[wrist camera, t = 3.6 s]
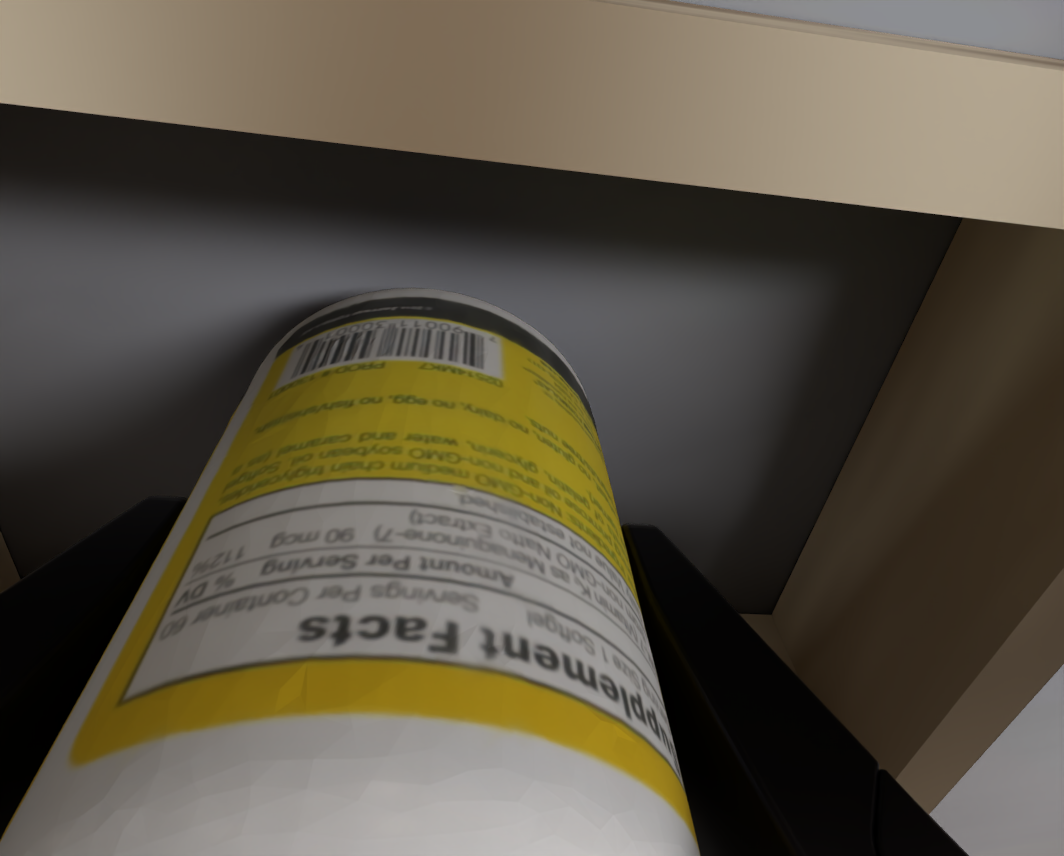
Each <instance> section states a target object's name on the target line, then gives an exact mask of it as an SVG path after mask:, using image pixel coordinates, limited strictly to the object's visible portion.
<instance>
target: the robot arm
mask: <svg viewBox="0 0 1064 856" xmlns="http://www.w3.org/2000/svg"><path fill="white" fill-rule="evenodd" d="M187 500H188V498H185V497H172V496H151V497H148V498H146V499H144V500H143V501H141V502H140V503H138V504H136V505H135V506H133V507H132V508H130V509H129V510H127V511H126V512H124V513H123V514H121V515H120V516H118V517H116V518H115V519H113V520H112V521H110V522H109V523H107V524H106V525H104V526H103V527H101V528H99V529H98V530H96V531H95V532H93V533H92V534H90V535H89V536H87V537H86V538H84V539H83V540H81V541H79V542H78V543H76V544H75V545H73V546H72V547H70V548H69V549H67V550H66V551H64V552H62V553H61V554H59V555H58V556H56V557H55V558H53V559H52V560H50V561H49V562H47V563H45V564H44V565H42V566H41V567H39V568H38V569H36V570H35V571H33V572H32V573H30V574H29V575H27V576H25V577H24V578H22V579H21V580H19V581H18V582H16V583H15V584H13V585H12V586H10V587H8V588H7V589H5V590H4V591H2V592H1V593H0V840H1V838H2V836H3V833H4V831H5V829H6V827H7V826H8V824H9V822H10V820H11V818H12V817H13V815H14V813H15V811H16V809H17V808H18V806H19V804H20V802H21V800H22V799H23V797H24V795H25V793H26V792H27V790H28V788H29V786H30V784H31V783H32V781H33V779H34V777H35V775H36V774H37V772H38V770H39V768H40V766H41V765H42V763H43V761H44V759H45V757H46V756H47V754H48V752H49V750H50V749H51V747H52V745H53V743H54V741H55V740H56V738H57V736H58V734H59V732H60V731H61V729H62V727H63V725H64V723H65V722H66V720H67V718H68V716H69V714H70V713H71V711H72V709H73V707H74V705H75V704H76V702H77V700H78V698H79V697H80V695H81V693H82V691H83V689H84V688H85V686H86V684H87V682H88V680H89V679H90V677H91V675H92V673H93V671H94V670H95V668H96V666H97V664H98V662H99V661H100V659H101V657H102V655H103V653H104V652H105V650H106V648H107V646H108V644H109V643H110V641H111V639H112V637H113V635H114V633H115V632H116V630H117V628H118V626H119V624H120V623H121V621H122V619H123V617H124V615H125V613H126V612H127V610H128V608H129V606H130V604H131V603H132V601H133V599H134V597H135V595H136V593H137V592H138V590H139V588H140V586H141V584H142V582H143V581H144V579H145V577H146V575H147V573H148V572H149V570H150V568H151V566H152V564H153V562H154V561H155V559H156V557H157V555H158V553H159V552H160V550H161V548H162V546H163V544H164V542H165V540H166V539H167V537H168V535H169V533H170V531H171V529H172V527H173V526H174V524H175V522H176V520H177V518H178V516H179V515H180V513H181V511H182V509H183V507H184V505H185V504H186V502H187ZM621 531H622V535H623V539H624V543H625V547H626V551H627V555H628V559H629V563H630V567H631V571H632V576H633V580H634V584H635V588H636V592H637V596H638V601H639V605H640V609H641V613H642V617H643V621H644V625H645V630H646V633H647V637H648V641H649V645H650V649H651V653H652V657H653V661H654V664H655V668H656V672H657V676H658V681H659V685H660V689H661V693H662V698H663V702H664V706H665V710H666V714H667V718H668V722H669V726H670V730H671V734H672V738H673V742H674V747H675V751H676V755H677V759H678V763H679V767H680V771H681V776H682V780H683V784H684V788H685V792H686V796H687V801H688V805H689V809H690V813H691V817H692V821H693V825H694V830H695V834H696V838H697V842H698V846H699V850H700V856H969V855H968V854H967V853H966V852H965V851H964V850H963V849H962V848H961V847H960V846H959V845H958V844H957V843H956V842H955V841H954V840H953V839H952V838H951V837H950V836H949V835H948V834H947V833H946V832H945V831H944V830H943V829H942V828H941V827H940V826H939V825H938V824H937V823H936V822H935V821H934V820H933V818H932V817H931V816H930V815H929V814H928V813H927V812H926V811H925V810H924V809H923V808H922V807H921V806H920V805H919V804H918V803H917V802H916V801H915V800H914V799H913V798H912V797H911V796H910V795H909V794H908V792H907V791H906V790H905V789H904V788H903V787H902V786H901V785H900V784H899V783H898V782H897V781H896V780H895V779H894V778H893V777H892V775H891V774H890V773H889V772H888V771H887V770H885V769H880V770H879V763H878V761H877V760H876V759H875V758H874V757H873V756H872V755H871V754H870V752H869V751H868V750H867V749H866V748H865V747H864V746H863V745H862V744H861V743H860V742H859V741H858V740H857V739H856V738H855V736H854V735H853V734H852V733H851V732H850V731H849V730H848V729H847V728H846V727H845V726H844V725H843V724H842V723H841V722H840V721H839V719H838V718H837V717H836V716H835V715H834V714H833V713H832V712H831V711H830V710H829V709H828V708H827V707H826V706H825V705H824V703H823V702H822V701H821V700H820V699H819V698H818V697H817V696H816V695H815V694H814V693H813V692H812V691H811V690H810V689H809V688H808V686H807V685H806V684H805V683H804V682H803V681H802V680H801V679H800V678H799V677H798V676H797V675H796V674H795V673H794V672H793V671H792V669H791V668H790V667H789V666H788V665H787V664H786V663H785V662H784V661H783V660H782V659H781V658H780V657H779V656H778V655H777V653H776V652H775V651H774V650H773V649H772V648H771V647H770V646H769V645H768V644H767V643H766V642H765V641H764V640H763V639H762V638H761V636H760V635H759V634H758V633H757V632H756V631H755V630H754V629H753V628H752V627H751V626H750V625H749V624H748V623H747V622H746V620H745V619H744V618H743V617H742V616H741V615H740V614H739V613H738V612H737V611H736V610H735V609H734V608H733V607H732V606H731V605H730V603H729V602H728V601H727V600H726V599H725V598H724V597H723V596H722V595H721V594H720V593H719V592H718V591H717V590H716V589H715V588H714V586H713V585H712V584H711V583H710V582H709V581H708V580H707V579H706V578H705V577H704V576H703V575H702V574H701V573H700V572H699V570H698V569H697V568H696V567H695V566H694V565H693V564H692V563H691V562H690V561H689V560H688V559H687V558H686V557H685V556H684V555H683V553H682V552H681V551H680V550H679V549H678V548H677V547H676V546H675V545H674V544H673V543H672V542H671V541H670V540H669V539H668V537H667V536H666V535H665V534H664V533H663V532H662V531H661V530H660V529H659V528H657V527H656V526H653V525H645V524H624V525H622V526H621Z"/></svg>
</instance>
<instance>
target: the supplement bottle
mask: <svg viewBox="0 0 1064 856" xmlns="http://www.w3.org/2000/svg"><path fill="white" fill-rule="evenodd" d="M0 856H700V850H699V846H698V842H697V838H696V834H695V830H694V825H693V821H692V817H691V813H690V809H689V805H688V801H687V796H686V792H685V788H684V784H683V780H682V776H681V771H680V767H679V763H678V759H677V755H676V751H675V747H674V742H673V738H672V734H671V730H670V726H669V722H668V718H667V714H666V710H665V706H664V702H663V698H662V693H661V689H660V685H659V681H658V676H657V672H656V668H655V664H654V661H653V657H652V653H651V649H650V645H649V641H648V637H647V633H646V630H645V625H644V621H643V617H642V613H641V609H640V605H639V601H638V596H637V592H636V588H635V584H634V580H633V576H632V571H631V567H630V563H629V559H628V555H627V551H626V547H625V543H624V539H623V535H622V531H621V527H620V522H619V518H618V514H617V510H616V505H615V501H614V497H613V493H612V489H611V485H610V481H609V477H608V473H607V470H606V466H605V461H604V457H603V453H602V449H601V446H600V442H599V438H598V434H597V429H596V425H595V421H594V418H593V415H592V412H591V409H590V405H589V402H588V399H587V396H586V394H585V391H584V389H583V387H582V385H581V383H580V381H579V379H578V377H577V376H576V374H575V372H574V370H573V369H572V367H571V366H570V365H569V363H568V362H567V360H566V359H565V358H564V356H563V355H562V354H561V353H560V352H559V351H558V350H557V348H556V347H555V346H554V345H553V344H552V343H551V342H550V341H549V340H547V339H546V338H545V337H544V336H543V335H542V334H540V333H539V332H538V331H537V330H535V329H534V328H533V327H531V326H530V325H528V324H527V323H525V322H524V321H522V320H520V319H519V318H517V317H516V316H514V315H513V314H511V313H509V312H507V311H505V310H503V309H500V308H498V307H496V306H494V305H492V304H489V303H487V302H485V301H482V300H479V299H476V298H473V297H469V296H466V295H463V294H460V293H454V292H448V291H443V290H435V289H424V288H399V289H387V290H380V291H374V292H369V293H365V294H361V295H357V296H353V297H350V298H347V299H344V300H342V301H339V302H337V303H335V304H332V305H330V306H328V307H325V308H323V309H322V310H320V311H318V312H317V313H315V314H313V315H311V316H310V317H308V318H307V319H305V320H304V321H302V322H301V323H300V324H298V325H297V326H296V327H294V328H293V329H292V330H291V331H289V332H288V333H287V334H286V335H285V336H284V337H283V338H282V339H281V340H280V341H279V342H278V343H277V344H276V345H275V346H274V348H273V349H272V350H271V351H270V353H269V354H268V355H267V357H266V358H265V360H264V361H263V363H262V364H261V365H260V367H259V369H258V371H257V372H256V374H255V376H254V378H253V380H252V382H251V384H250V385H249V387H248V389H247V390H246V392H245V394H244V396H243V397H242V399H241V401H240V403H239V405H238V407H237V409H236V410H235V412H234V413H233V415H232V417H231V418H230V420H229V423H228V425H227V427H226V429H225V431H224V433H223V435H222V437H221V439H220V440H219V442H218V444H217V446H216V447H215V449H214V451H213V453H212V455H211V457H210V459H209V460H208V462H207V464H206V466H205V468H204V470H203V472H202V473H201V475H200V477H199V479H198V481H197V483H196V485H195V487H194V489H193V491H192V492H191V494H190V496H189V498H188V500H187V502H186V504H185V505H184V507H183V509H182V511H181V513H180V515H179V516H178V518H177V520H176V522H175V524H174V526H173V527H172V529H171V531H170V533H169V535H168V537H167V539H166V540H165V542H164V544H163V546H162V548H161V550H160V552H159V553H158V555H157V557H156V559H155V561H154V562H153V564H152V566H151V568H150V570H149V572H148V573H147V575H146V577H145V579H144V581H143V582H142V584H141V586H140V588H139V590H138V592H137V593H136V595H135V597H134V599H133V601H132V603H131V604H130V606H129V608H128V610H127V612H126V613H125V615H124V617H123V619H122V621H121V623H120V624H119V626H118V628H117V630H116V632H115V633H114V635H113V637H112V639H111V641H110V643H109V644H108V646H107V648H106V650H105V652H104V653H103V655H102V657H101V659H100V661H99V662H98V664H97V666H96V668H95V670H94V671H93V673H92V675H91V677H90V679H89V680H88V682H87V684H86V686H85V688H84V689H83V691H82V693H81V695H80V697H79V698H78V700H77V702H76V704H75V705H74V707H73V709H72V711H71V713H70V714H69V716H68V718H67V720H66V722H65V723H64V725H63V727H62V729H61V731H60V732H59V734H58V736H57V738H56V740H55V741H54V743H53V745H52V747H51V749H50V750H49V752H48V754H47V756H46V757H45V759H44V761H43V763H42V765H41V766H40V768H39V770H38V772H37V774H36V775H35V777H34V779H33V781H32V783H31V784H30V786H29V788H28V790H27V792H26V793H25V795H24V797H23V799H22V800H21V802H20V804H19V806H18V808H17V809H16V811H15V813H14V815H13V817H12V818H11V820H10V822H9V824H8V826H7V827H6V829H5V831H4V833H3V836H2V838H1V840H0Z"/></svg>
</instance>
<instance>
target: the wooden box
mask: <svg viewBox="0 0 1064 856" xmlns="http://www.w3.org/2000/svg"><path fill="white" fill-rule="evenodd" d="M0 103H5V104H14V105H22V106H31V107H39V108H47V109H56V110H64V111H73V112H81V113H90V114H98V115H106V116H115V117H123V118H132V119H140V120H148V121H157V122H165V123H174V124H182V125H191V126H199V127H207V128H216V129H224V130H233V131H241V132H249V133H258V134H266V135H275V136H283V137H291V138H300V139H308V140H317V141H325V142H334V143H342V144H350V145H359V146H367V147H376V148H384V149H392V150H401V151H409V152H418V153H426V154H435V155H443V156H451V157H460V158H468V159H477V160H485V161H493V162H502V163H510V164H519V165H527V166H535V167H544V168H552V169H561V170H569V171H578V172H586V173H594V174H603V175H611V176H620V177H628V178H636V179H645V180H653V181H662V182H670V183H679V184H687V185H695V186H704V187H712V188H721V189H729V190H737V191H746V192H754V193H763V194H771V195H780V196H788V197H796V198H805V199H813V200H822V201H830V202H838V203H847V204H855V205H864V206H872V207H880V208H889V209H897V210H906V211H914V212H923V213H931V214H939V215H948V216H956V217H964V218H963V220H962V222H961V224H960V226H959V228H958V230H957V232H956V234H955V236H954V238H953V240H952V242H951V244H950V246H949V249H948V251H947V253H946V255H945V257H944V259H943V261H942V263H941V265H940V267H939V269H938V271H937V273H936V275H935V278H934V280H933V282H932V284H931V286H930V288H929V290H928V292H927V294H926V296H925V298H924V300H923V302H922V304H921V306H920V309H919V311H918V313H917V315H916V317H915V319H914V321H913V323H912V325H911V327H910V329H909V331H908V333H907V335H906V338H905V340H904V342H903V344H902V346H901V348H900V350H899V352H898V354H897V356H896V358H895V360H894V362H893V364H892V367H891V369H890V371H889V373H888V375H887V377H886V379H885V381H884V383H883V385H882V387H881V389H880V391H879V393H878V395H877V398H876V400H875V402H874V404H873V406H872V408H871V410H870V412H869V414H868V416H867V418H866V420H865V422H864V424H863V427H862V429H861V431H860V433H859V435H858V437H857V439H856V441H855V443H854V445H853V447H852V449H851V451H850V453H849V456H848V458H847V460H846V462H845V464H844V466H843V468H842V470H841V472H840V474H839V476H838V478H837V480H836V482H835V484H834V487H833V489H832V491H831V493H830V495H829V497H828V499H827V501H826V503H825V505H824V507H823V509H822V511H821V513H820V516H819V518H818V520H817V522H816V524H815V526H814V528H813V530H812V532H811V534H810V536H809V538H808V540H807V542H806V545H805V547H804V549H803V551H802V553H801V555H800V557H799V559H798V561H797V563H796V565H795V567H794V569H793V571H792V573H791V576H790V578H789V580H788V582H787V584H786V586H785V588H784V590H783V592H782V594H781V596H780V598H779V600H778V602H777V605H776V607H775V609H774V611H773V613H772V615H759V614H740V615H741V616H742V617H743V618H744V619H745V620H746V622H747V623H748V624H749V625H750V626H751V627H752V628H753V629H754V630H755V631H756V632H757V633H758V634H759V635H760V636H761V638H762V639H763V640H764V641H765V642H766V643H767V644H768V645H769V646H770V647H771V648H772V649H773V650H774V651H775V652H776V653H777V655H778V656H779V657H780V658H781V659H782V660H783V661H784V662H785V663H786V664H787V665H788V666H789V667H790V668H791V669H792V671H793V672H794V673H795V674H796V675H797V676H798V677H799V678H800V679H801V680H802V681H803V682H804V683H805V684H806V685H807V686H808V688H809V689H810V690H811V691H812V692H813V693H814V694H815V695H816V696H817V697H818V698H819V699H820V700H821V701H822V702H823V703H824V705H825V706H826V707H827V708H828V709H829V710H830V711H831V712H832V713H833V714H834V715H835V716H836V717H837V718H838V719H839V721H840V722H841V723H842V724H843V725H844V726H845V727H846V728H847V729H848V730H849V731H850V732H851V733H852V734H853V735H854V736H855V738H856V739H857V740H858V741H859V742H860V743H861V744H862V745H863V746H864V747H865V748H866V749H867V750H868V751H869V752H870V754H871V755H872V756H873V757H874V758H875V759H876V760H877V761H878V763H879V770H880V769H885V770H887V771H888V772H889V773H890V774H891V775H892V777H893V778H894V779H895V780H896V781H897V782H898V783H899V784H900V785H901V786H902V787H903V788H904V789H905V790H906V791H907V792H908V794H909V795H910V796H911V797H912V798H913V799H914V800H915V801H916V802H917V803H918V804H919V805H920V806H921V807H922V808H923V809H924V810H925V811H926V812H927V813H928V814H930V813H931V811H932V810H933V809H934V808H935V807H936V806H937V805H938V804H939V803H940V801H941V800H942V799H943V798H944V797H945V796H946V795H947V794H948V792H949V791H950V790H951V789H952V788H953V787H954V786H955V785H956V784H957V782H958V781H959V780H960V779H961V778H962V777H963V776H964V775H965V773H966V772H967V771H968V770H969V769H970V768H971V767H972V766H973V765H974V763H975V762H976V761H977V760H978V759H979V758H980V757H981V756H982V755H983V753H984V752H985V751H986V750H987V749H988V748H989V747H990V746H991V744H992V743H993V742H994V741H995V740H996V739H997V738H998V737H999V736H1000V734H1001V733H1002V732H1003V731H1004V730H1005V729H1006V728H1007V727H1008V726H1009V724H1010V723H1011V722H1012V721H1013V720H1014V719H1015V718H1016V717H1017V715H1018V714H1019V713H1020V712H1021V711H1022V710H1023V709H1024V708H1025V707H1026V705H1027V704H1028V703H1029V702H1030V701H1031V700H1032V699H1033V698H1034V696H1035V695H1036V694H1037V693H1038V692H1039V691H1040V690H1041V689H1042V688H1043V686H1044V685H1045V684H1046V683H1047V682H1048V681H1049V680H1050V679H1051V678H1052V676H1053V675H1054V674H1055V673H1056V672H1057V671H1058V670H1059V669H1060V667H1061V666H1062V665H1063V664H1064V60H1060V59H1053V58H1047V57H1040V56H1034V55H1027V54H1020V53H1014V52H1007V51H1001V50H994V49H987V48H981V47H974V46H967V45H961V44H954V43H948V42H941V41H934V40H928V39H921V38H914V37H908V36H901V35H895V34H888V33H881V32H875V31H868V30H862V29H855V28H848V27H842V26H835V25H828V24H822V23H815V22H809V21H802V20H795V19H789V18H782V17H775V16H769V15H762V14H756V13H749V12H742V11H736V10H729V9H723V8H716V7H709V6H703V5H696V4H689V3H683V2H676V1H670V0H0ZM19 580H21V579H20V577H19V574H18V572H17V570H16V567H15V565H14V563H13V560H12V558H11V555H10V553H9V551H8V548H7V546H6V544H5V541H4V539H3V536H2V534H1V532H0V593H1V592H2V591H4V590H5V589H7V588H8V587H10V586H12V585H13V584H15V583H16V582H18V581H19Z"/></svg>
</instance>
